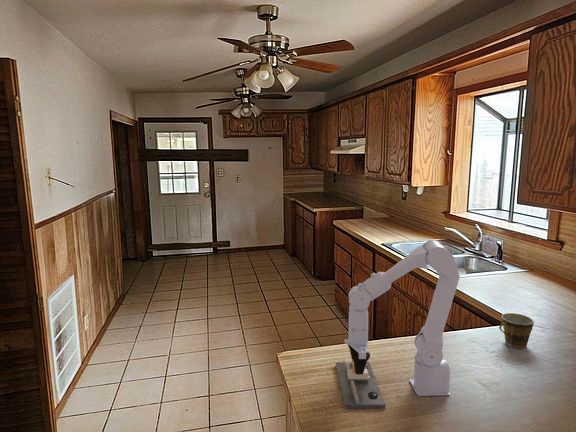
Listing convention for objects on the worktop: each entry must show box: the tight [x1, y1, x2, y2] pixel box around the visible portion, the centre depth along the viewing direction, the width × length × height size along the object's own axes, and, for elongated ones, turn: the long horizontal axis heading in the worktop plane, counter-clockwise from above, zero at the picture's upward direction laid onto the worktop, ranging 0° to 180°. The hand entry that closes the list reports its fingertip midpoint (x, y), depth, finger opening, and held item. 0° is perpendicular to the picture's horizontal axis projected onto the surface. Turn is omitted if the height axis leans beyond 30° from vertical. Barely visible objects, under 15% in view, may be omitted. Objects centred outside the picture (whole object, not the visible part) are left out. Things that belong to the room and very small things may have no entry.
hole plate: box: [335, 357, 386, 410], centre depth 117 cm, size 11×22×4 cm, turn 0°
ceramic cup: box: [499, 312, 535, 350], centre depth 139 cm, size 13×10×10 cm
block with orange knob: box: [347, 361, 370, 379], centre depth 117 cm, size 7×3×6 cm, turn 90°
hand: (357, 368), depth 117 cm, fingers open, 5 cm apart
